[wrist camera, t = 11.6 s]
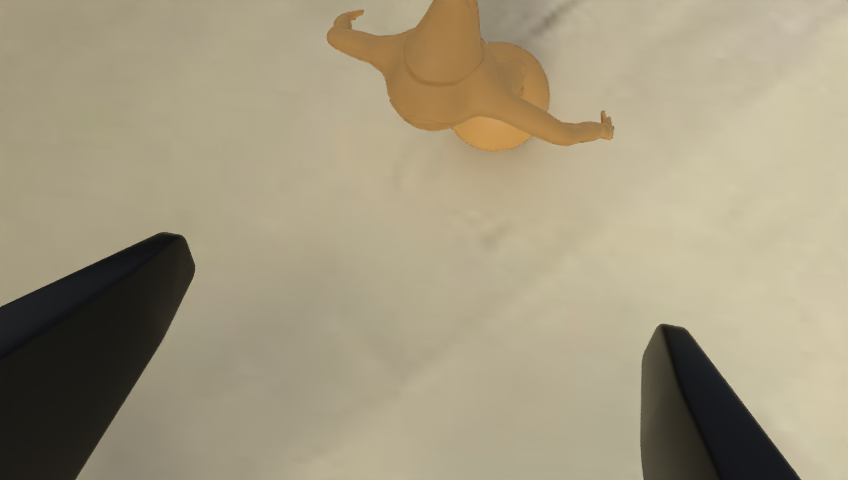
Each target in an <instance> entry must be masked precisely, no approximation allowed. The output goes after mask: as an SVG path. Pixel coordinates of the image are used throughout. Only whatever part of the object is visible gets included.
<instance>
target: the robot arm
mask: <svg viewBox="0 0 848 480" xmlns="http://www.w3.org/2000/svg"><path fill="white" fill-rule="evenodd" d="M194 273H195V264H194V261H193V258H192V255H191V252H190V249H189V247H188V244H187V241H186V239H185V238H184V237H183V236H182V235H179V234H174V233H168V232H161V233H158V234H156V235H154V236H152V237H150V238H147V239H145V240H143V241H141V242H139V243H137V244H135V245H132V246H130V247H128V248H126V249H124V250H122V251H120V252H117V253H115V254H113V255H111V256H109V257H107V258H104V259H102V260H100V261H98V262H96V263H94V264H92V265H89V266H87V267H85V268H83V269H81V270H79V271H77V272H74V273H72V274H70V275H68V276H66V277H64V278H62V279H59V280H57V281H55V282H53V283H51V284H49V285H46V286H44V287H42V288H40V289H38V290H36V291H34V292H31V293H29V294H27V295H25V296H23V297H21V298H19V299H16V300H14V301H12V302H10V303H8V304H6V305H4V306H1V307H0V480H76V478H77V476H78V475H79V473H80V472H81V470H82V468H83V467H84V465H85V464H86V462H87V460H88V459H89V457H90V456H91V454H92V452H93V451H94V449H95V448H96V446H97V444H98V443H99V441H100V440H101V438H102V436H103V435H104V433H105V432H106V430H107V428H108V427H109V425H110V424H111V422H112V420H113V419H114V417H115V416H116V414H117V412H118V411H119V409H120V408H121V406H122V404H123V403H124V401H125V400H126V398H127V396H128V395H129V393H130V392H131V390H132V388H133V387H134V385H135V384H136V382H137V380H138V379H139V377H140V376H141V374H142V372H143V371H144V369H145V368H146V366H147V364H148V363H149V361H150V360H151V358H152V356H153V355H154V353H155V352H156V350H157V348H158V347H159V345H160V343H161V342H162V340H163V338H164V336H165V334H166V332H167V330H168V328H169V326H170V324H171V322H172V320H173V318H174V316H175V314H176V312H177V310H178V308H179V306H180V304H181V301H182V299H183V297H184V295H185V293H186V291H187V289H188V287H189V285H190V283H191V281H192V279H193V276H194ZM640 446H641V459H642V469H643V478H644V480H801V479H800V477H799V476H798V475H797V473H796V472H795V471H794V470H793V468H792V467H791V466H790V464H789V463H788V462H787V460H786V459H785V458H784V456H783V455H782V454H781V452H780V451H779V450H778V449H777V447H776V446H775V445H774V443H773V442H772V441H771V439H770V438H769V437H768V435H767V434H766V433H765V431H764V430H763V429H762V428H761V426H760V425H759V424H758V422H757V421H756V420H755V418H754V417H753V416H752V414H751V413H750V412H749V410H748V409H747V408H746V406H745V405H744V404H743V403H742V401H741V400H740V399H739V397H738V396H737V395H736V393H735V392H734V391H733V389H732V388H731V387H730V385H729V384H728V383H727V382H726V380H725V379H724V378H723V376H722V375H721V374H720V372H719V371H718V370H717V368H716V367H715V366H714V364H713V363H712V362H711V361H710V359H709V358H708V357H707V355H706V354H705V353H704V351H703V350H702V349H701V347H700V346H699V345H698V343H697V342H696V341H695V340H694V338H693V337H692V336H691V334H690V333H689V332H688V331H687V330H686V329H685V328H683V327H679V326H673V325H668V324H660V325H659V326H658V327H657V328H656V330H655V332H654V334H653V336H652V338H651V340H650V342H649V344H648V346H647V348H646V350H645V352H644V355H643V359H642V377H641V430H640Z"/></svg>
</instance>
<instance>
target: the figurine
mask: <svg viewBox="0 0 848 480" xmlns="http://www.w3.org/2000/svg"><path fill="white" fill-rule="evenodd" d="M363 12H364V10H358V11H352V12H348V13H345V14H341V15H340V16H338V17H337V18H336V19H335V21H334V26H333V27H332V28H331V29H330V30H329V31H328V33H327V41H328V43H329V44H330V45H331V46H332V47H334V48H335V49H337V50H339V51H341V52H343V53H345V54H347V55H350V56H352V57H355V58H357V59H359V60H362V61H365V62H368V63H370V64H371V65H373V66H374V67H375V68H376V69H378V70H379V71H380V72H381V73H382V74H383V76H384V77H385V80H386V85H387V92H388V95H389V97H390V102H391V104H392V106H393V107H394V109H395V110H396V112H397V113H398V114H399V115H400V116H401V117H402V118H403V119H404V120H405V121H406V122H408V123H409V124H411V125H412V126H414V127H416V128H419V129H423V130H428V131H440V130H445V129H449V128H452V129H453V130H454V132H455V133H456V134H457V135H458V136H459V137H460V138H461V139H462V140H463V141H465V142H466V143H468V144H469V145H471V146H473V147H475V148H478V149H481V150H486V151H503V150H508V149H511V148H514V147H516V146H518V145H520V144H522V143H524V142H525V141H526V140H528V139H529V138H530V137H531V136H532V135H533V136H535V137H537V138H539V139H542V140H545V141H547V142H550V143H553V144H556V145H562V146H570V145H573V144H576V143H584V142H589V141H594V140H597V139H599V138H602V139H606V140H611V139H612V138H613V130H614V127H613V126H612V122H611V118H610V117H608V118H607V117H606V115H605V111H604V110H603V111H602V112H601V124H600V123H597V122H582V123H579V124H573V123H563V122H560V121H559V120H557V119H556V118H554V117H553V116H551V115H550V114H548V113H547V110H548V105H549V97H550V93H549V84H548V80H547V77H546V74H545V72H544V70H543V68H542V66H541V65H540V63H539V62H538V61H537V59H536V58H535V57H534V56H533V55H532V54H530V53H529V52H528V51H526V50H525V49H523V48H521V47H519V46H516V45H514V44H510V43H504V42H493V43H486V42H485V41H484V40H483V39H481V38H480V23H479V10H478V4H477V1H476V0H434V1H433V2H432V4H431V5H430V7H429V9H428V11H427V12H426V14H425V15H424V17H423V18H422V20H421V21H420V23H419V24H418V25H417V26H416V27H415V28H413V29H410V30H408V31H406V32H403V33H400V34H397V35H389V36H375V35H371V34H369V33H366V32H361V31H356V30H351V27H352V25H351V22H350V21H352V20H355V19H356V18H355V17H358V16H360V15H362V14H363Z"/></svg>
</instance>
